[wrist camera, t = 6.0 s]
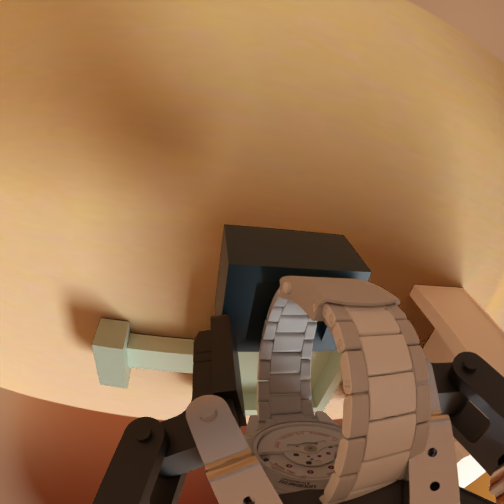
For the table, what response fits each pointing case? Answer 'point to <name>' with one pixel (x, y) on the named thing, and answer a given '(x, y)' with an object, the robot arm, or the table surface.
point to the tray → (181, 360)
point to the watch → (323, 339)
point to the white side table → (459, 344)
